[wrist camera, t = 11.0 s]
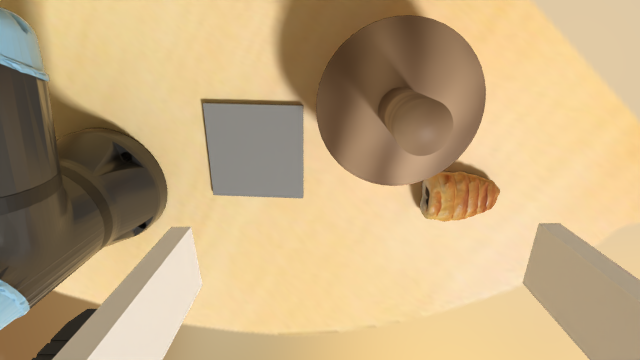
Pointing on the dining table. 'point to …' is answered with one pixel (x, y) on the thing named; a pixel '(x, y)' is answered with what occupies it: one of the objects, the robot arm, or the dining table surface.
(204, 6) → the dining table surface
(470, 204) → the pastry
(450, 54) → the lid
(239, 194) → the mat
